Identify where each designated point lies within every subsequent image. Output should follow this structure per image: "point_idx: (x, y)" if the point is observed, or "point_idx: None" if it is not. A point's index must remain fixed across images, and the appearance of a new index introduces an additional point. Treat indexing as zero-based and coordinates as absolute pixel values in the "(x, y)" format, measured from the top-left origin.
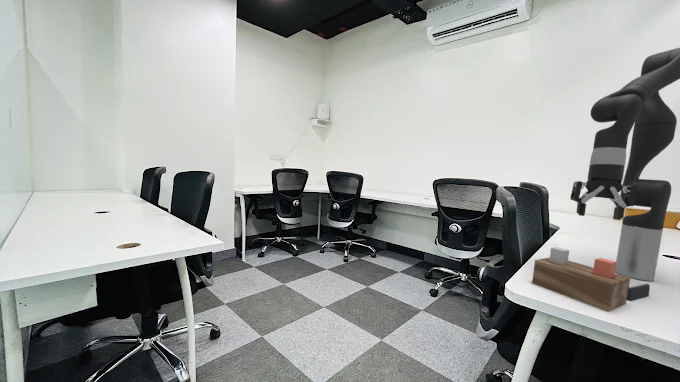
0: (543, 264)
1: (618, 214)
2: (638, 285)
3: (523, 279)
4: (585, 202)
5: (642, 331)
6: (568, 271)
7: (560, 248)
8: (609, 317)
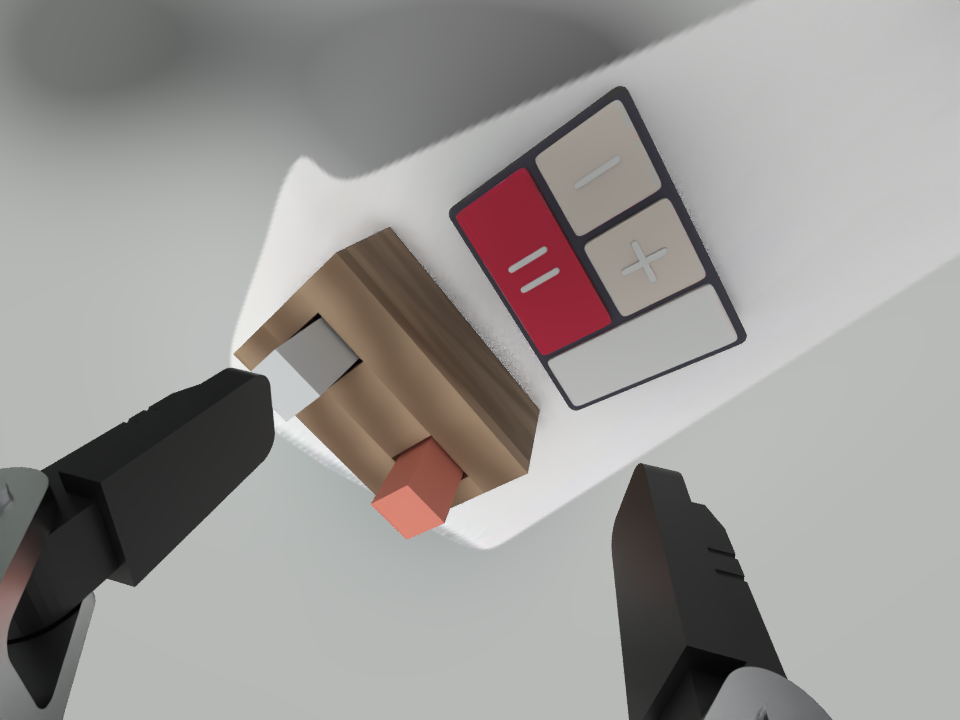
0: None
1: (620, 602)
2: (645, 378)
3: (275, 286)
4: (91, 614)
5: (452, 528)
6: (326, 440)
7: (285, 376)
8: None
